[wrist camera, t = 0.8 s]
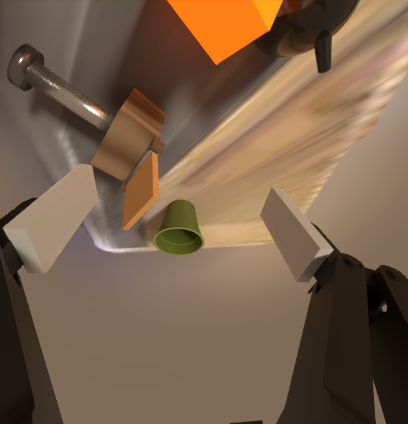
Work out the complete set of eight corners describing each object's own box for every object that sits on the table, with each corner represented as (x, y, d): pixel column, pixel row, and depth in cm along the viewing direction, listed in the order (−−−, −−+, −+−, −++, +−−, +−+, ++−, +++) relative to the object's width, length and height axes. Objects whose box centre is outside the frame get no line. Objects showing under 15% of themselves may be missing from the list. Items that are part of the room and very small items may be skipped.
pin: (36, 41, 24) (10, 47, 21) (152, 127, 33) (147, 142, 29) (29, 77, 27) (4, 88, 23) (137, 148, 36) (131, 164, 32)
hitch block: (135, 86, 31) (114, 116, 23) (170, 115, 34) (163, 150, 26) (108, 133, 36) (85, 171, 28) (141, 154, 40) (128, 193, 32)
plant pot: (194, 187, 47) (194, 223, 39) (207, 217, 55) (210, 251, 48) (150, 198, 49) (143, 234, 42) (170, 225, 58) (166, 259, 50)
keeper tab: (151, 195, 22) (160, 199, 22) (150, 144, 27) (158, 148, 28) (120, 228, 26) (129, 230, 27) (125, 178, 31) (132, 181, 32)
